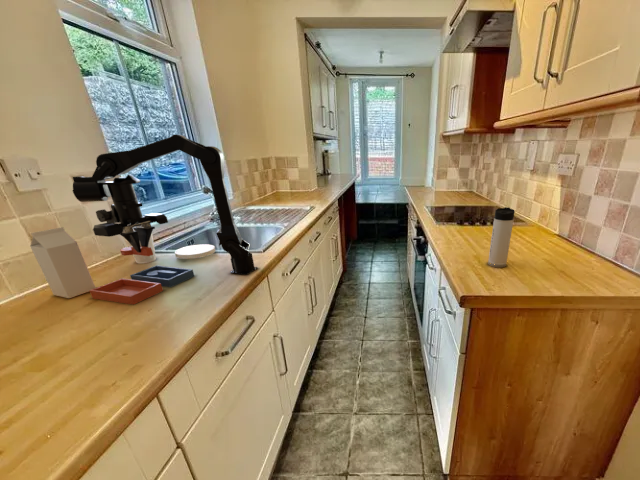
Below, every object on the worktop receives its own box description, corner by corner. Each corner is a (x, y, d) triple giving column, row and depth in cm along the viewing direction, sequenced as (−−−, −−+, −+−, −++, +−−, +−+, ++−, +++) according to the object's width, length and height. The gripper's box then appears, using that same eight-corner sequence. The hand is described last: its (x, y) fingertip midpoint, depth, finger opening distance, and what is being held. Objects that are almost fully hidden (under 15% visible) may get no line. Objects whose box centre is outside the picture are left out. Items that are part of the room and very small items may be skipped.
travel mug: (508, 263, 116) (517, 208, 108) (503, 269, 111) (512, 211, 103) (490, 260, 119) (498, 206, 111) (485, 265, 114) (493, 209, 106)
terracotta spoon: (157, 253, 100) (155, 245, 99) (144, 257, 96) (141, 250, 95) (132, 250, 103) (129, 243, 102) (117, 254, 99) (115, 247, 98)
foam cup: (129, 266, 115) (116, 231, 110) (132, 259, 123) (121, 225, 117) (160, 261, 120) (149, 227, 114) (161, 255, 127) (151, 222, 122)
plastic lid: (182, 251, 131) (181, 245, 130) (219, 248, 134) (218, 243, 133) (171, 262, 119) (169, 256, 118) (211, 259, 122) (210, 253, 121)
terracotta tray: (163, 290, 96) (160, 283, 95) (133, 304, 88) (130, 296, 87) (124, 285, 100) (121, 278, 99) (92, 298, 91) (89, 290, 90)
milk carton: (96, 289, 97) (71, 228, 89) (69, 299, 91) (39, 234, 83) (81, 286, 99) (55, 226, 91) (53, 295, 93) (23, 232, 85)
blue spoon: (182, 276, 105) (180, 270, 104) (170, 282, 101) (168, 275, 100) (157, 273, 107) (155, 267, 106) (144, 278, 103) (142, 272, 102)
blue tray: (194, 276, 106) (192, 269, 105) (170, 287, 98) (168, 279, 97) (158, 272, 110) (156, 265, 109) (132, 282, 102) (129, 275, 101)
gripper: (135, 194, 102) (150, 241, 109) (68, 204, 86) (91, 258, 93) (162, 195, 100) (175, 244, 106) (98, 206, 83) (119, 262, 90)
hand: (142, 251), depth 99 cm, fingers closed on terracotta spoon, 2 cm apart
